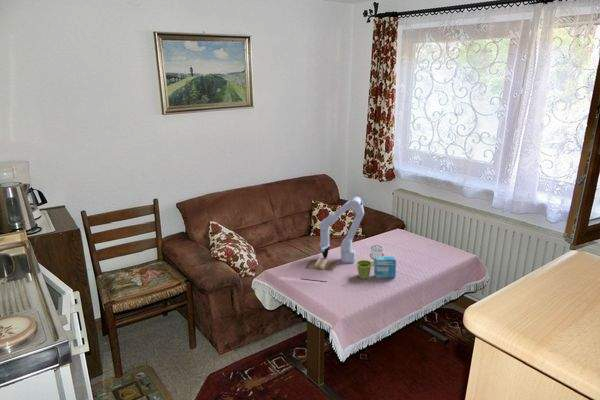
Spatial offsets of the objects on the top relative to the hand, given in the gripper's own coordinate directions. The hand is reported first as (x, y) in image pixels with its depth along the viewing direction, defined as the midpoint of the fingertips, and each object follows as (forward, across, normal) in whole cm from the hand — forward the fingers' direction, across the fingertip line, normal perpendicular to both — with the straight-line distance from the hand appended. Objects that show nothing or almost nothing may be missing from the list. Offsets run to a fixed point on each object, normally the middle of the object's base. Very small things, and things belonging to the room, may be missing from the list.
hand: (325, 257), depth 272 cm
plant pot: (+2, +16, +28) cm, 33 cm away
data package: (+2, +14, +40) cm, 42 cm away
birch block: (+1, +10, 0) cm, 11 cm away
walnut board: (+2, +10, 0) cm, 11 cm away
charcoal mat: (+2, +23, 0) cm, 23 cm away
